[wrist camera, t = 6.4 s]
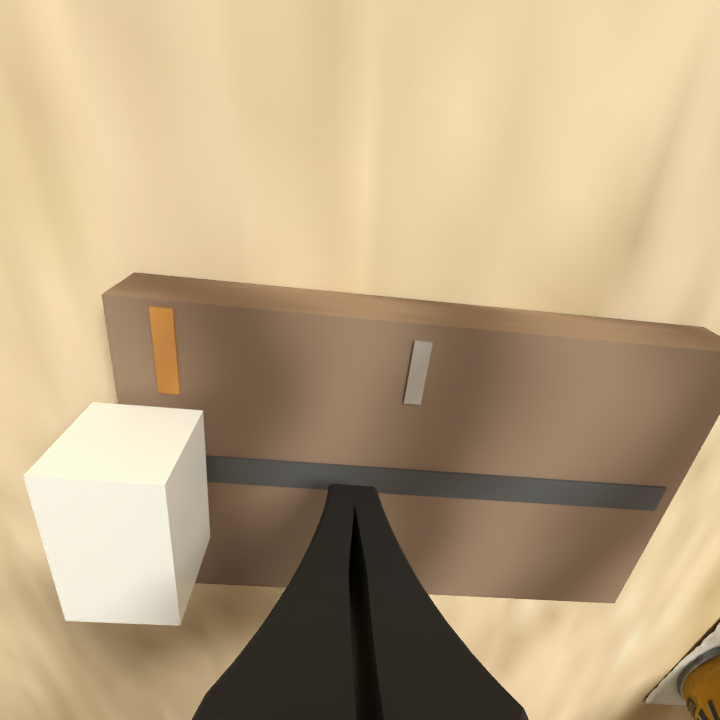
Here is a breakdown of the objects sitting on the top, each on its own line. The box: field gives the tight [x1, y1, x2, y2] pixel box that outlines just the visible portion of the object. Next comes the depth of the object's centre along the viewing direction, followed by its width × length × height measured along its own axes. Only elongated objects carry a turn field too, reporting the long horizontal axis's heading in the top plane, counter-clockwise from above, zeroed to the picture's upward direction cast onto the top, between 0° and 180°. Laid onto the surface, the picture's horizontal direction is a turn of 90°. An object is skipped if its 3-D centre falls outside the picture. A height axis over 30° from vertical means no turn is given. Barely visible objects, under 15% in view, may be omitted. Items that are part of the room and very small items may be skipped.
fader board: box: [102, 273, 720, 603], centre depth 16 cm, size 18×11×2 cm, turn 84°
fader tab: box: [23, 402, 210, 626], centre depth 12 cm, size 3×5×3 cm, turn 174°
